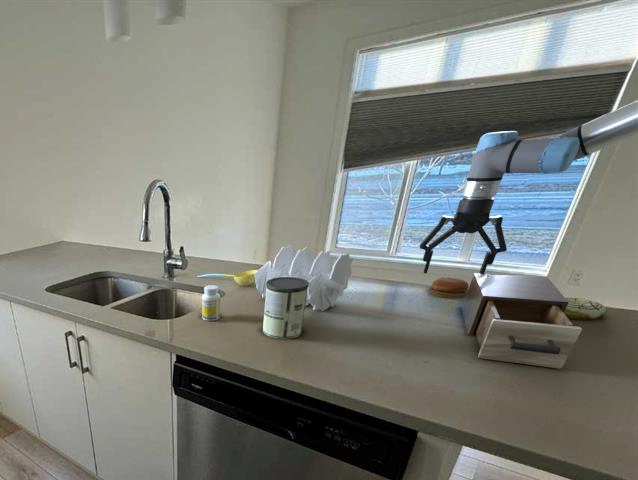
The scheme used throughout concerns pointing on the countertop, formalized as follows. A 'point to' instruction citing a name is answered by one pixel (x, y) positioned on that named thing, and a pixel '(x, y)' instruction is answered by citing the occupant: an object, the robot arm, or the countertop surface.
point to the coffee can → (284, 307)
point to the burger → (449, 287)
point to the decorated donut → (583, 309)
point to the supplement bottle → (211, 303)
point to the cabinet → (507, 294)
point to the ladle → (239, 277)
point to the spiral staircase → (309, 274)
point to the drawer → (525, 333)
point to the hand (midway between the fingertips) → (452, 273)
